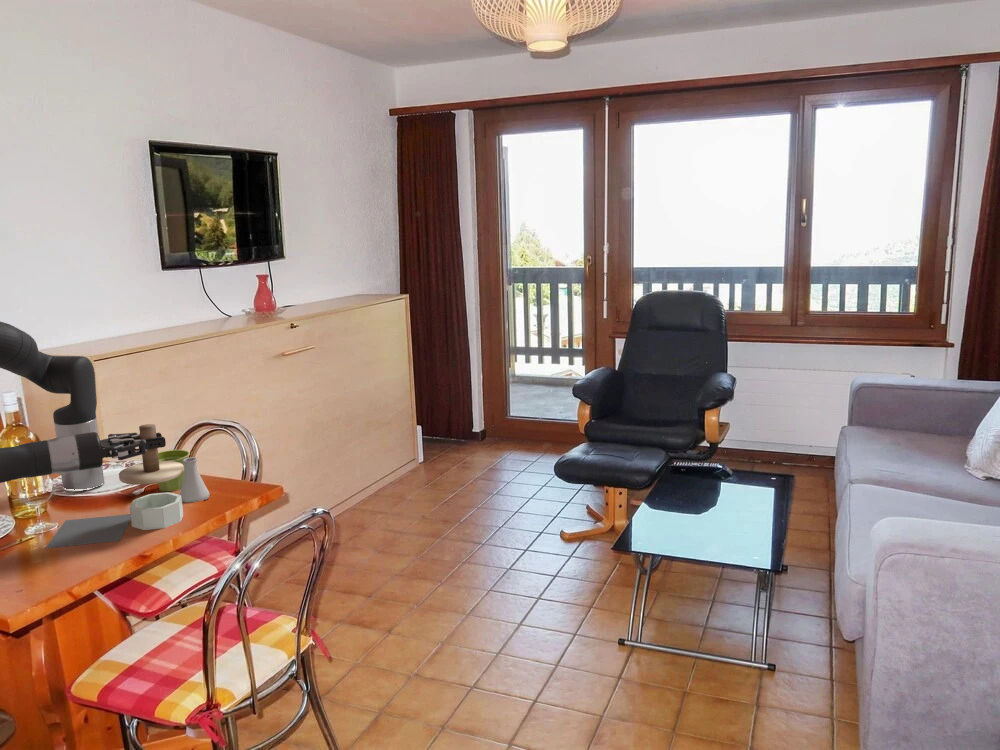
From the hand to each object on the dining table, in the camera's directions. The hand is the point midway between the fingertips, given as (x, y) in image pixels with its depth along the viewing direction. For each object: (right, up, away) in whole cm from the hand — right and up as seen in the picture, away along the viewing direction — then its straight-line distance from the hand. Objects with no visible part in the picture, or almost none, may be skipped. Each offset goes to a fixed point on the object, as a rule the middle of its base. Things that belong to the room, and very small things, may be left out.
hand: (162, 439), depth 171 cm
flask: (0, -16, +16) cm, 23 cm away
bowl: (-2, -19, +3) cm, 19 cm away
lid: (-2, -8, 0) cm, 8 cm away
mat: (-14, -20, -2) cm, 24 cm away
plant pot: (-8, -14, +23) cm, 28 cm away
